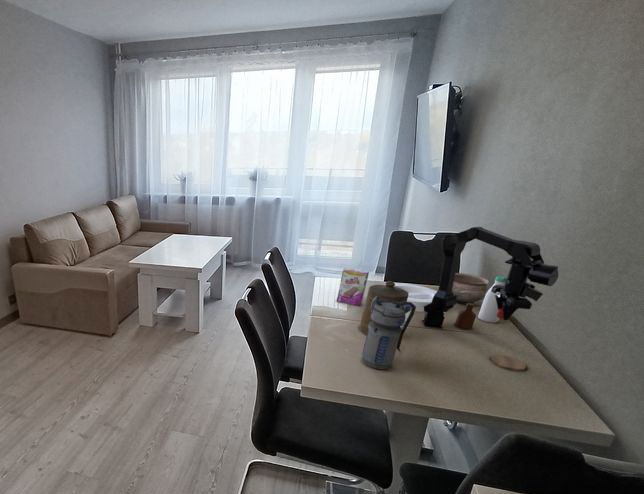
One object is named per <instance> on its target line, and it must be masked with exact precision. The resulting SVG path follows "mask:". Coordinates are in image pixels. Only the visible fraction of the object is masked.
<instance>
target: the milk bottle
mask: <svg viewBox="0 0 644 494" xmlns="http://www.w3.org/2000/svg"><path fill="white" fill-rule="evenodd" d="M504 278H507V276H501V275H500V276H496V277H495V279H494V284H493V285H492V286H491V287H490V288H489V289H487V293H486V295H485V297H484V298H483V301H482V304H481V306H480V309H479V312H478V315H477V318H478V319H479V320H480V321H483V322H486V323H492V324H494V323H495V324H496V323H498V322H499V320H500V318H498V317H497V313H498V307H497V303H496V298H495V295H498V292H496V293H493V292H491V290H492V287H493V286H495V285H503V286H504V285H505V281H504Z"/></svg>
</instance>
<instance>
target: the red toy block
mask: <svg viewBox="0 0 644 494" xmlns="http://www.w3.org/2000/svg"><path fill="white" fill-rule="evenodd" d="M497 317H498V318H499V319H500V320H504V319H503V308H499V310H498V313H497ZM511 318H512V316H511V317H510V318H509V319H508V320H507V321H509V320H510V319H511Z"/></svg>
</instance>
